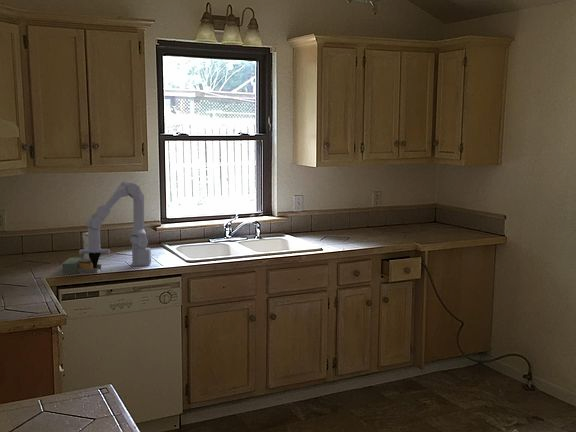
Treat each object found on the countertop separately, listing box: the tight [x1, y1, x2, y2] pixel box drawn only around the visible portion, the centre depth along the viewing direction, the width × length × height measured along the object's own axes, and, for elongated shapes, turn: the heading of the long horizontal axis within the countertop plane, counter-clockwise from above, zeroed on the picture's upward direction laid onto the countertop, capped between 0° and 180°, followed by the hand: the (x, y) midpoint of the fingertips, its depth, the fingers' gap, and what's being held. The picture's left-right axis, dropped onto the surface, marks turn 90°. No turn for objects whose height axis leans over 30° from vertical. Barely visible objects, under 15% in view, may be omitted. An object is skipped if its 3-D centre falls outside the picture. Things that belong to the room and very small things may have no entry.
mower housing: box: [61, 257, 102, 275], centre depth 305 cm, size 16×14×5 cm
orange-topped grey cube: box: [79, 258, 93, 268], centre depth 306 cm, size 5×5×5 cm
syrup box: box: [82, 231, 90, 259], centre depth 331 cm, size 6×6×14 cm
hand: (95, 267), depth 306 cm, fingers closed
